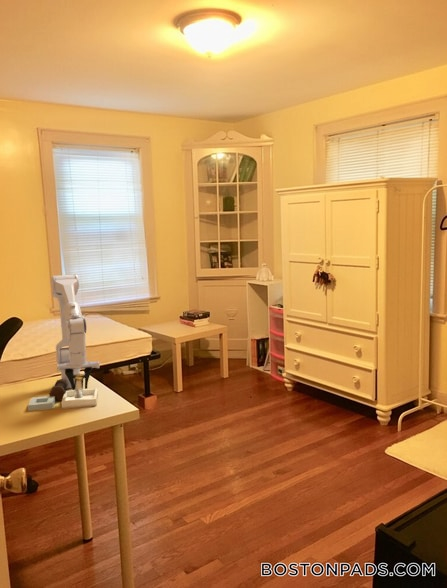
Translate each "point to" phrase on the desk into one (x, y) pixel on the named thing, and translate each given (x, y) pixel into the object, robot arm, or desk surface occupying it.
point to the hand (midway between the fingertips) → (79, 388)
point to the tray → (80, 399)
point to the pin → (78, 385)
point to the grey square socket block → (41, 403)
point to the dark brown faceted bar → (58, 389)
